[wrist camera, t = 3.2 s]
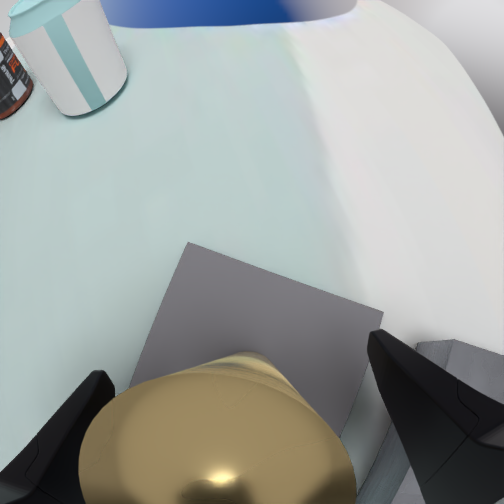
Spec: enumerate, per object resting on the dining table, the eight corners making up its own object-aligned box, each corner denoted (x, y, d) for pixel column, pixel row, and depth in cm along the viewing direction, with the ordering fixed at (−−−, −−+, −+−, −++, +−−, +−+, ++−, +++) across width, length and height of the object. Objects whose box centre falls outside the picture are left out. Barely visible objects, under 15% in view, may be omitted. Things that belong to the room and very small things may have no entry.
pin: (265, 416, 15) (287, 607, 2) (209, 395, 16) (62, 525, 2) (286, 362, 16) (401, 421, 3) (230, 342, 17) (122, 323, 3)
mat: (294, 521, 13) (295, 523, 13) (109, 450, 15) (106, 452, 14) (381, 312, 17) (383, 312, 17) (189, 244, 19) (187, 241, 18)
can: (58, 91, 24) (5, 5, 12) (120, 56, 24) (83, -40, 13) (65, 134, 22) (-6, 33, 10) (138, 92, 23) (92, -25, 11)
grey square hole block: (474, 517, 12) (502, 534, 8) (345, 516, 13) (363, 548, 10) (530, 376, 15) (565, 374, 11) (418, 342, 17) (454, 339, 13)
